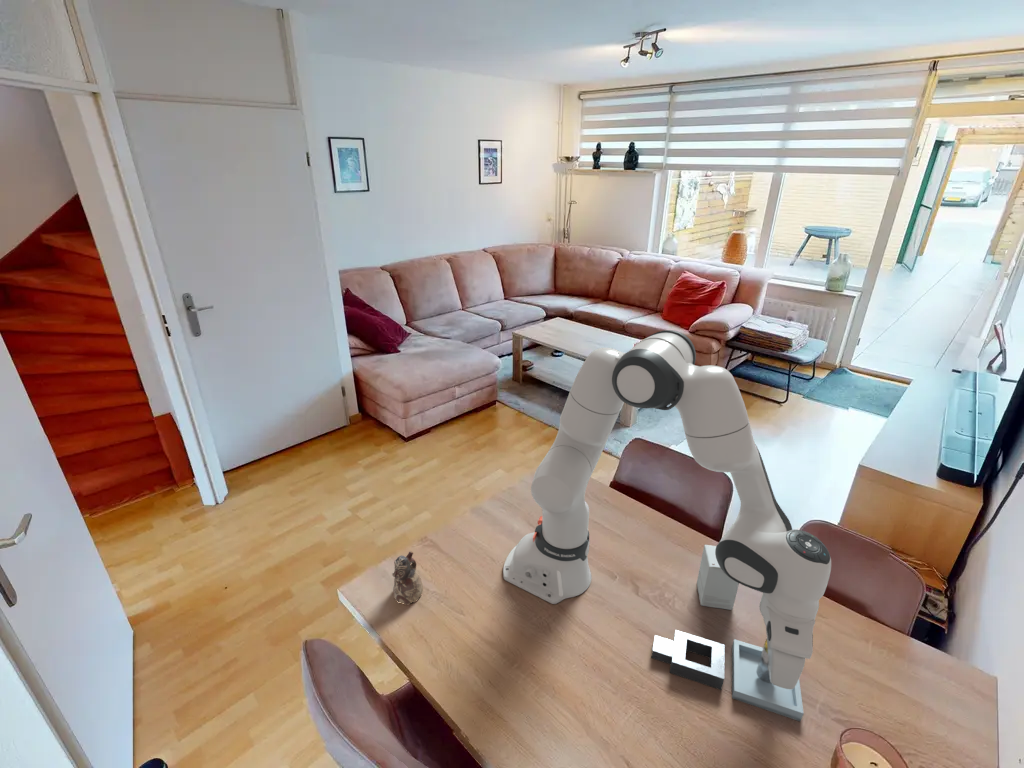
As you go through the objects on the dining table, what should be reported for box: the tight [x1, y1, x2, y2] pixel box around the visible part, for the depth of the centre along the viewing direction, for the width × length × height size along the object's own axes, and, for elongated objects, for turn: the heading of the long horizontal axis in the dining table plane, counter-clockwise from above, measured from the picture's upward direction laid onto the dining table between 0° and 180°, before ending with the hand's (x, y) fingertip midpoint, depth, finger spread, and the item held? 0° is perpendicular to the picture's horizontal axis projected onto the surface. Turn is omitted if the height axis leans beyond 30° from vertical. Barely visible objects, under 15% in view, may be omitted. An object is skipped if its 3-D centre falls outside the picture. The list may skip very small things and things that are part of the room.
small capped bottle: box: [756, 638, 771, 683], centre depth 98 cm, size 4×4×9 cm
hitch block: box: [651, 629, 726, 691], centre depth 104 cm, size 14×8×4 cm, turn 68°
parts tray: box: [731, 638, 804, 722], centre depth 100 cm, size 12×12×2 cm
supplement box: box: [696, 544, 740, 611], centre depth 117 cm, size 7×7×13 cm
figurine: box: [391, 550, 424, 604], centre depth 119 cm, size 7×7×12 cm
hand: (771, 658), depth 98 cm, fingers closed on small capped bottle, 3 cm apart
